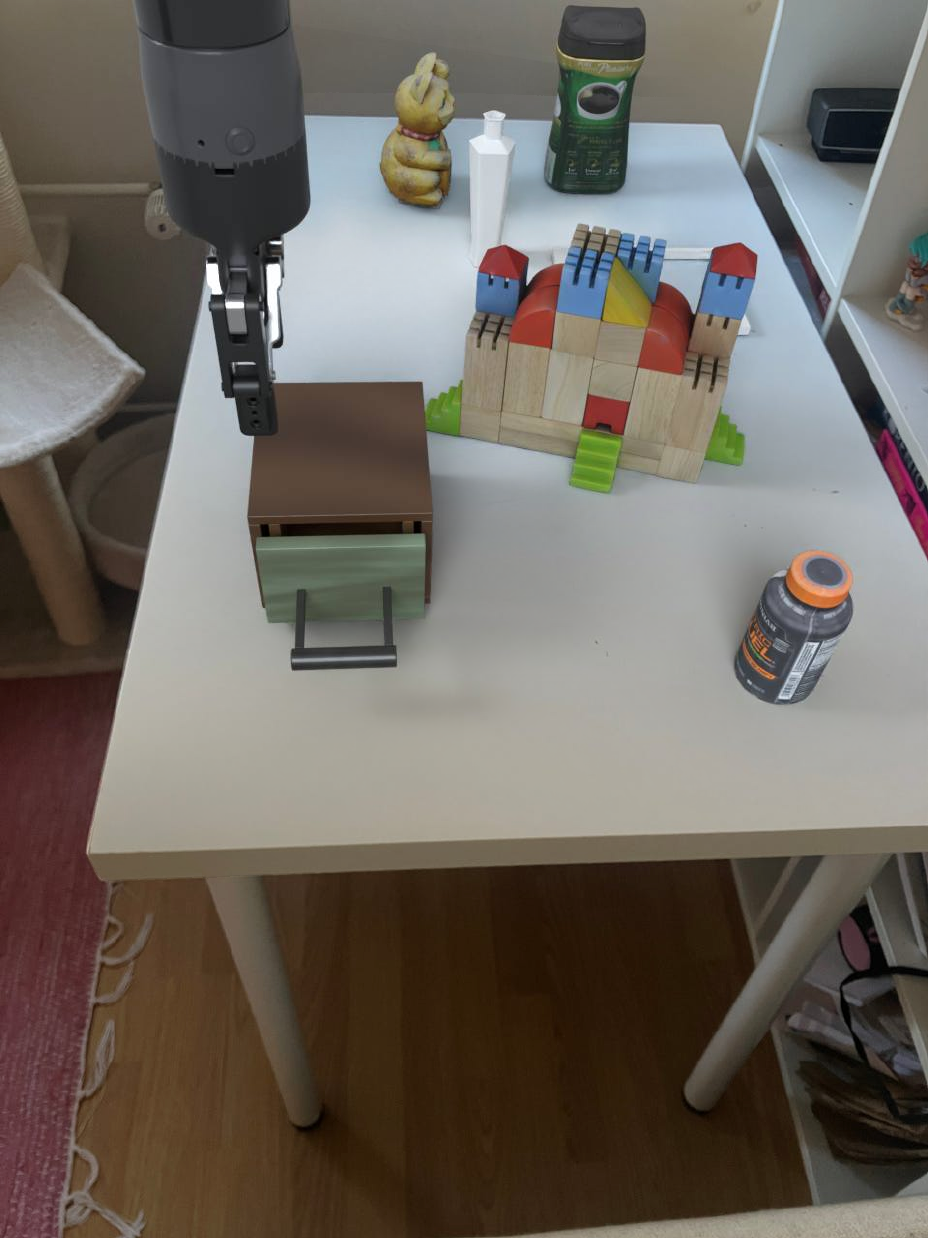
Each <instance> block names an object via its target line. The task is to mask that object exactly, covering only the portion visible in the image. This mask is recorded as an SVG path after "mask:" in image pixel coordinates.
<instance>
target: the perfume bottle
mask: <svg viewBox="0 0 928 1238" xmlns="http://www.w3.org/2000/svg"><path fill="white" fill-rule="evenodd" d="M482 114H483V117H484V120H483V121H484V122H483V133H481V134H480V135H478V136H475V137H472V138H471V139H469V140H468V153H469V155H468V157H469V201H470V203H469V204H470V205H469V207H470V245H469V248H468V251H467V254H466V257H467V258H468V260H469V261H470V263H471V264H472V266H473V267H475V268H479V266H480V264H481V262H482V260H483V258H484V256H485V254H486V252H487V250H488V249H490V248H494V247H497V246H501V245H502V244H501V243H502V237H503V236H502V235H503V230H504V222H505V218H506V217H505V216H506V209H507V203H508V196H509V190H510V183H511V175H512V170H513V169H512V168H513V162H514V155H515V149H516V140H514V139H512V138H510V137H508V136H507V135H504V127H505V125H504V122H505V118H506V116H507V114H506V113H504V112H501V111H499V110H495V109H494V110H489V111H487V112H484V113H482Z"/></svg>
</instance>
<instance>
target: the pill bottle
mask: <svg viewBox="0 0 928 1238" xmlns="http://www.w3.org/2000/svg"><path fill="white" fill-rule="evenodd" d="M853 582H854V577H853V573H852V570H851V569H850V566H849V565H848V564H847V563H846V562H845V561H844V560H842V559H841V558H840V557H838V556H837V555H835V554H833V553H830V552H828V551H824V550H814V549H813V550H812V549H811V550H806V551H803V552H800V553H799V554H798V555H797V554H796V556H795V557H794V558H793V560H792V561H791V563H790V566H789V567H786V568H783V569H780V570H778V571H777V572H776V573H774V574H773V575H772V576H771V577H770V578H769V579H768V580H767V582H766V584H765V585H764V589H763V590H762V593H761V595H760V598H759V600H758V603H757V605H756V608H755V610H754V612H753V615H752V617H751V618H750V622H749V624H748V627H747V628H746V631H745V633H744V636H743V638H742V640H741V642H740V645H739V647H738V650H737V651H736V655H735V656H734V661H733V668H734V672H735V676H736V679H737V680H738V681H739V683H740V685H741V686H742V687H743V688H744V690H745V691H747V692H748V693H749V694H750V695H752V696H753V697H755V698H756V699H758V700H761V701H763V702H765V703H767V704H772V705H777V706H789V705H794V704H798V703H800V702H802V701H804V700H805V699H807V698H808V697H809V696H810V695H811V694H812V692H813V691H814V689H815V687H816V686H817V684H818V682H819V680H820V679H821V676H822V675H823V672H824V671H825V670H826V667H827V665H828V663H829V662H830V659H832V658H831V657H832V656H833V654H834V653H835V651H836V649H837V647H838V645H839V643H840V641H841V639H842V638H843V636H844V634H845V633H846V630H847V628H848V627H849V625H850V623H851V621H852V619H853V615H854V600H853V598H852V595H851V593H850V590H851V588H852V585H853Z"/></svg>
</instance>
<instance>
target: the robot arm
mask: <svg viewBox="0 0 928 1238" xmlns="http://www.w3.org/2000/svg"><path fill="white" fill-rule="evenodd" d="M131 2H132V5H133V11H134V17H135V22H136V28H137V35H138V46H139V47H138V48H139V64H140V65H139V66H140V74H141V82H142V88H143V89H142V90H143V94H144V99H145V105H146V110H147V116H148V121H149V126H150V131H151V135H152V142H153V146H154V151H155V157H156V162H157V167H158V172H159V173H158V174H159V178H160V182H161V188H162V193H163V198H164V204H165V209H166V212H167V214H168V216H169V218H170V219H171V221H172V222H173V223H174V224H175V225H176V226H177V227H178V228H179V229H181V230H182V231H183V232H185V233H187V234H188V235H190V236H193V237H194V238H198V239H200V240H203V241H204V242H207V243H208V244H210V249H211V254H207V255H206V256H205V265H206V266H205V267H206V269H205V270H206V281H207V285H208V286H209V287H210V288H211V290H212V293H210V298H209V301H208V302H207V303H208V304H207V305H208V311H209V312H210V314H211V320H212V326H213V327H212V328H213V334H214V338H215V339H214V340H215V347H216V352H217V359H218V364H219V371H220V377H221V383H220V388H221V392H223V396H224V398H225V399H234V403H235V408H236V414H237V421H238V428H239V431H240V433H241V434H242V435H243V436H247V437H254V436H272V435H275V434H276V433H277V431H278V415H277V407H276V399H275V391H274V383H275V381H276V380H277V375H276V374H277V372H276V370H274V357H273V356H274V355H273V350H275V349H280V348H282V347H283V346H284V340H285V339H284V338H285V337H284V335H285V334H284V326H283V316H282V306H281V297H280V292H281V288H282V287H283V284H284V283H283V281H284V280H283V279H285V236H284V235H285V234H287V233H289V232H291V231H292V230H294V229H296V228H297V227H298V226H299V225H300V224H301V223H302V222H303V221H304V220H305V218H306V217H307V215H308V213H309V211H310V207H311V202H312V197H311V196H312V195H311V185H310V172H309V171H310V170H309V160H308V159H309V158H308V142H307V129H306V118H305V104H304V103H305V102H304V91H303V79H302V78H303V77H302V69H301V64H300V57H299V54H298V48H297V44H296V39H295V35H294V25H293V19H292V17H293V15H292V4H291V2H292V1H291V0H132V1H131ZM240 363H241V364H240ZM243 363H245V364H243ZM247 363H250V364H247Z"/></svg>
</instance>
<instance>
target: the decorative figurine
mask: <svg viewBox="0 0 928 1238" xmlns="http://www.w3.org/2000/svg"><path fill="white" fill-rule="evenodd" d="M437 54H438V52H433V51H432V52H429V53H427V54H425V55H424V56H422V57H421V58H420V59H419V61H418V62H417V64H416V67H415V69H414V73H413V74H410V75H409V76H407V77H405V79H403V80H402V81H401V82H400V84H399V85H398V86H397V88H396V89H397V90H396V92H395V95H394V101H393V103H394V110H395V114H396V116H397V119H398V122H397V124H396V126H395V127H394V128H393V129H392V131H391V132H390V133H389V134H388V135H387V137H386V138H385V141H384V143H383V144H382V145H383V146H382V149H381V152H380V153H381V154H380V155H381V156H380V161H379V164H378V165H379V171H380V175H381V176H382V179H383V182H384V183H385V186H386V188H387V189H388V191H389V193H390V194H391V195H393V197H395V198H397V199H398V203H399V204H406V205H413V206H420V207H421V208H430V209H440V208H441V204H442V203H444V196H445V197H447V196H448V195H449V191H450V188H451V182H452V166H453V161H452V158H453V157H452V153H451V148H449V146H448V142H447V138H446V136H445V133H444V130H445V129H447V127H448V125H449V124H450V123H452V121H453V119H454V117H455V112H456V99H455V97H454V95H452V93H451V90H450V83H449V82H448V81H447V79H448V77H449V76H450V74H451V69H450V67H449V64H448V62H447V61H445V60H443V59H440V58H438V59H437Z"/></svg>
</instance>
